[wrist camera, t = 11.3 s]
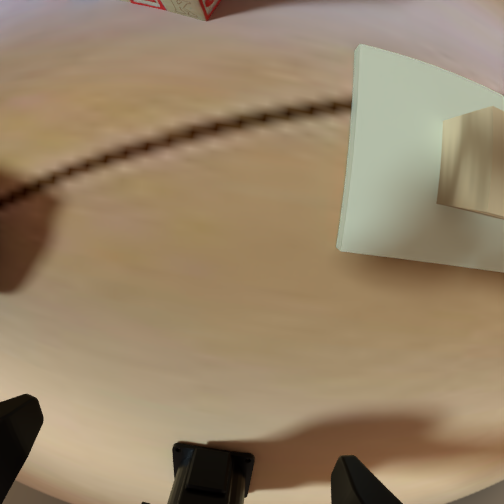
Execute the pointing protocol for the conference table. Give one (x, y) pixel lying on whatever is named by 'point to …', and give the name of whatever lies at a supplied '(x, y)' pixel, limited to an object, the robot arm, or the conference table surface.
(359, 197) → the sage board
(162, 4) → the stack of blocks
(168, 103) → the conference table surface
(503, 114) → the beige cube
